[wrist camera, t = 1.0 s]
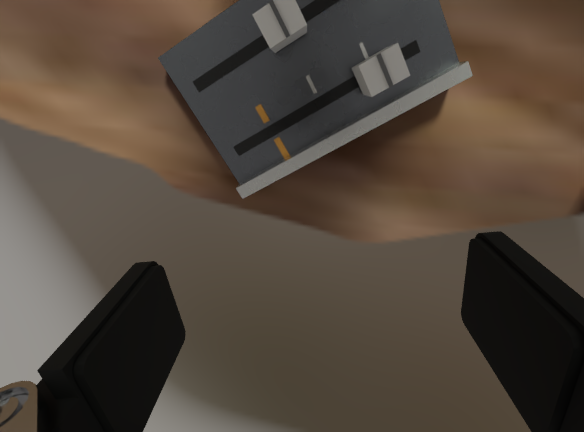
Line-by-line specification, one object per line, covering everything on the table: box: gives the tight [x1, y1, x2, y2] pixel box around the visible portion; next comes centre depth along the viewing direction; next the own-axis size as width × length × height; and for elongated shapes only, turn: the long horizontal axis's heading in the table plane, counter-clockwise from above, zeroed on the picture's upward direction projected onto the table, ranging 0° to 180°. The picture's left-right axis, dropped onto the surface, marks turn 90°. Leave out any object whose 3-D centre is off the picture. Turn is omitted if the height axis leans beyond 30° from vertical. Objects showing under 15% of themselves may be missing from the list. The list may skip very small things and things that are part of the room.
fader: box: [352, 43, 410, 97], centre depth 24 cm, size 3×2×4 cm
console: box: [158, 0, 473, 199], centre depth 27 cm, size 22×14×4 cm, turn 119°
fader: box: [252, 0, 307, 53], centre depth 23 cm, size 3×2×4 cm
